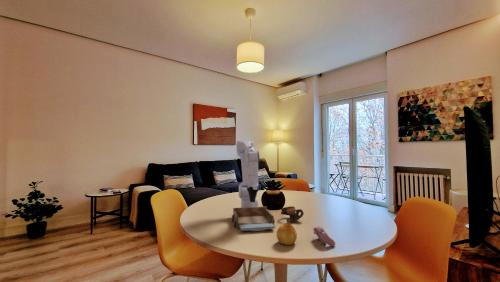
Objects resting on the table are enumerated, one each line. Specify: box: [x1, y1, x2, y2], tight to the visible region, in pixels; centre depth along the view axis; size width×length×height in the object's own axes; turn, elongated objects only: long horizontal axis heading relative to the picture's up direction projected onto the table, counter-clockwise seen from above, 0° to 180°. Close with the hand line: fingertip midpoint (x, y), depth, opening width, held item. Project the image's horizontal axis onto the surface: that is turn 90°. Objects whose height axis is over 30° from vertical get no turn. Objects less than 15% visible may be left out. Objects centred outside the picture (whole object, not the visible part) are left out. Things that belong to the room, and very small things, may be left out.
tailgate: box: [239, 223, 276, 232], centre depth 107 cm, size 16×2×6 cm
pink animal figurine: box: [313, 226, 336, 247], centre depth 94 cm, size 10×5×7 cm, turn 6°
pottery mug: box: [280, 206, 305, 224], centre depth 122 cm, size 12×10×8 cm
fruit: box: [276, 222, 298, 246], centre depth 93 cm, size 8×8×8 cm
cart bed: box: [231, 206, 275, 230], centre depth 118 cm, size 20×14×6 cm
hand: (252, 202), depth 118 cm, fingers closed
